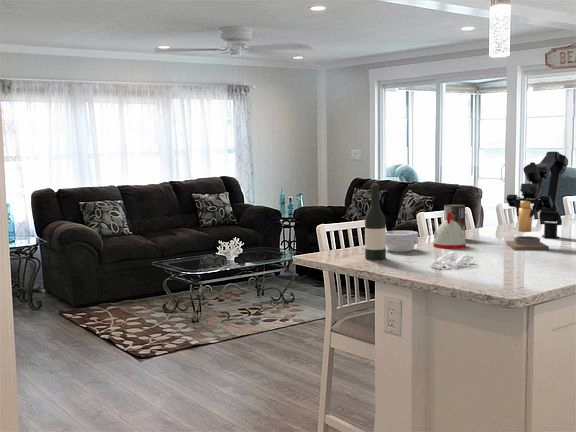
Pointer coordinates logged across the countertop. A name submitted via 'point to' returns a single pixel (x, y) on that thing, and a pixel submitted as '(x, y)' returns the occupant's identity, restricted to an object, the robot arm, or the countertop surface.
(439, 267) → the crumpled white cloth
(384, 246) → the wine bottle
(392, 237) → the paper bowls
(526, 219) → the wooden peg doll
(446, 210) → the coffee box
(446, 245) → the kitchen timer
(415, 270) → the countertop surface
